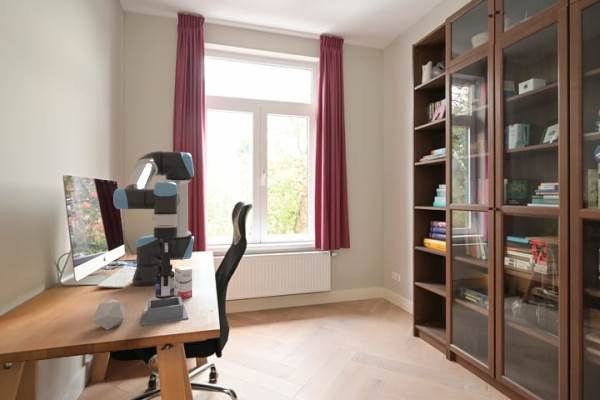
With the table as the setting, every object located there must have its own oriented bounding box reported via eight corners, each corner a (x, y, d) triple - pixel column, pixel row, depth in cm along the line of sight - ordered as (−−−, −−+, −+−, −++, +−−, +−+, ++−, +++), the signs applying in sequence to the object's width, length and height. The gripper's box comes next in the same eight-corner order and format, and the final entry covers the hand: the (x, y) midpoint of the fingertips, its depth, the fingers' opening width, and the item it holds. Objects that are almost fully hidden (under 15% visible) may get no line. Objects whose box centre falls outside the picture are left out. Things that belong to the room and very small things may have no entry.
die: (111, 321, 107) (91, 302, 102) (136, 308, 107) (116, 288, 103) (104, 340, 99) (81, 320, 95) (130, 325, 100) (109, 304, 95)
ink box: (192, 296, 133) (192, 268, 134) (180, 299, 130) (180, 270, 130) (185, 292, 140) (185, 265, 140) (173, 294, 137) (174, 266, 137)
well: (143, 312, 114) (143, 299, 114) (184, 306, 120) (184, 294, 120) (142, 325, 102) (142, 311, 102) (188, 319, 108) (188, 305, 108)
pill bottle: (153, 296, 111) (153, 264, 112) (171, 293, 115) (171, 262, 115) (158, 300, 107) (158, 267, 107) (177, 297, 111) (177, 265, 111)
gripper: (153, 225, 118) (153, 287, 118) (154, 228, 101) (153, 301, 101) (175, 224, 122) (174, 285, 121) (179, 228, 104) (178, 298, 104)
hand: (165, 292), depth 111 cm, fingers closed on pill bottle, 6 cm apart
